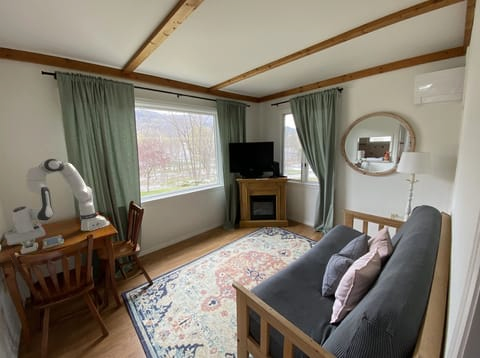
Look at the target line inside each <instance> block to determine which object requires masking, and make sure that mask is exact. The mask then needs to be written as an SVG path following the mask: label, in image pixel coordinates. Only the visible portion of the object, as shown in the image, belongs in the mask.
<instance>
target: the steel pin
mask: <svg viewBox="0 0 480 358" xmlns="http://www.w3.org/2000/svg"><path fill="white" fill-rule="evenodd" d="M31 242H32V240H27V241H25V244H26V247H27V248H29V247H32V244H31Z"/></svg>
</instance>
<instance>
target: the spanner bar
mask: <svg viewBox="0 0 480 358" xmlns="http://www.w3.org/2000/svg"><path fill="white" fill-rule="evenodd" d="M46 238H47V237H46ZM46 238H43V239H42V244H43V245H44V242H45V241H46V242H47V245H51V244H55V243H58V240H57V239H58V238H60V240H61V242H62V239H63V235H62V234H59V235H56V236H51V237H48V238H47V239H46Z"/></svg>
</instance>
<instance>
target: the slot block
mask: <svg viewBox="0 0 480 358" xmlns="http://www.w3.org/2000/svg"><path fill="white" fill-rule="evenodd" d="M38 248H39V244H38V242H34V244H33V245H32V247H29V248H27V247H24V246H23V245H22V247H21V249H20V252H21V255H23V254H27V253H32V252H35V251H37V250H38Z"/></svg>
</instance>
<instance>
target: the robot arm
mask: <svg viewBox="0 0 480 358" xmlns="http://www.w3.org/2000/svg"><path fill="white" fill-rule="evenodd" d="M53 173H59V174H61V176H62V177H63V179H64V181H66V183H67V185H68V186H69V188H70V190H71V191H72V194H73V195H74V197H75V199H76V200H77V201H78V210H79V214H80V215H79V220H80V222H81V226H80V227H81V228H80V231H83V232H87V231H88V232H91V231H95V230H99V229H102V228H105V227H108V226H109V225H110V224H111V223H110V221H109V220H107V219H106V218H105V216H103V215H99V214H100V213H99V212H98V211H95V205H94V195H93V189H92V188H91V187H89V186H88V185H86V182H85V180H84V179H83V178H82V176H81V174H80V173H79V171H78V169H76V167H75V166H74V165H73V164H71V163H70V162H62V161H61V160H59V159H56V158H48V159H45V160H43V162H41V163H40V164H39V165H38V166H32V167H29V168H28V170H27V173H26V177H25V187H26V189H27V190H28V191H30V192H31V193H34V194H36V195H38V196H39V200H40V206H41V207H27V206H24V205H23V206H20V207H16V208H14V209H13V210H12V213H11V214H12V215H11V216H12V220H13V223H14V227H15V228H14V229H16V231H13V232H10V231H9V232H7V233H5V234H4V238H5V239H6V243H7V246H12V245H13V244H15V245H17V244H16V243H20V244H19V245H22V247H23V246H24V247H26V243H25V244H23V242H24V241H27V240H31V239H33V240H31V244H32V245H33V244H34V243H35V242H36V239H37V238H38V239H39V238H41V237H42V238H43V237H45V236H46V235H47V234H46V231H45V229H44V228H43V226H42V224H41V223H33V221H45V222H46V221H49V220H50V219H51V218H52V217H53V216H54V209H53V206H52V198H51V192H50V191H51V190H50V189H49V188H48V187H47V186H48V185H47V183H46V182H47V181H46V179H47V175H50V174H53ZM98 228H99V229H98Z"/></svg>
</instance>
